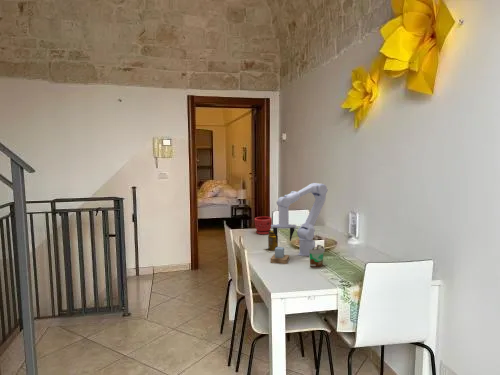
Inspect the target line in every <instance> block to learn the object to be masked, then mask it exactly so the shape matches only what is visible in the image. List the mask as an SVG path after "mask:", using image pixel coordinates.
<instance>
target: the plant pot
mask: <svg viewBox="0 0 500 375" xmlns="http://www.w3.org/2000/svg"><path fill="white" fill-rule="evenodd" d="M271 225H273V219H272V217H271V216H257V217H254V227H255V229H256V230H255V233H256V234H258V235H263V236H264V235H269V231H272V229H271Z"/></svg>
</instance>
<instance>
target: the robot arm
mask: <svg viewBox="0 0 500 375" xmlns="http://www.w3.org/2000/svg"><path fill="white" fill-rule="evenodd" d="M309 193H311V194H312V196H313V197H314V198H315V199H314V202H313V205H312V207H311V209H310V211H309V213H308V216H307V218H306V220H305V222H304V223H302V224H301V225H300V227H299V228H298V229H297V225H296V224H290V223H289V222H290V221H289V213H290V212H289V209H290V208H289V207H290V206H291V204H293V203H295V202H298V201H299V200H300V197H301V198H302V197H303V196H306V195H307V194H309ZM327 193H328V188H327V185H326V183H325V184H324V183H320V182H319V183H318V182H312V183H310V184H308V185H306V186H305V187H303V188H301V189H300V190H297V191H295V190H292V191H290V193H288V194H284V196H279V197H278V199H277V201H276V205H277V206H278V224H272V225H271V229H270V230H272V231H274V233H275V236H276V240H277V241H279V240H278V237H279V236H278V229H289V242H291V241H292V238H293V234H294V232H295V230H296V229H297V231H296V235H297V237H298V240H299V242H298V243H299V251H298V254H297V256H299V257H300V256H303V257H310V253H309V249H311V250H312V249H313V248H315V247H316V240H314V237H315V232H316V229H315V227H314V226H315V224H316V223H317V222H316V221H317V220H318V218H319V216H320V213H321V211H322V209H323V206H324V205H325V202H326V196H327Z"/></svg>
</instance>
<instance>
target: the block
mask: <svg viewBox="0 0 500 375" xmlns="http://www.w3.org/2000/svg"><path fill="white" fill-rule="evenodd" d="M274 254H275V258H283V257H284V255H285V247H283V246H278V247H276V248H275V251H274Z"/></svg>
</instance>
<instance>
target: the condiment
mask: <svg viewBox="0 0 500 375" xmlns="http://www.w3.org/2000/svg"><path fill="white" fill-rule="evenodd" d="M267 239H268V240H267V241H268V242H267V243H268V244H267V246H268V248H263V251H266V252H269V253H271V252H275V248H276V247H279V242H278V241H279V240H278V241H277V240H276V236H275V233H274V231H273V230H271V231H269V234H268V238H267Z"/></svg>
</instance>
